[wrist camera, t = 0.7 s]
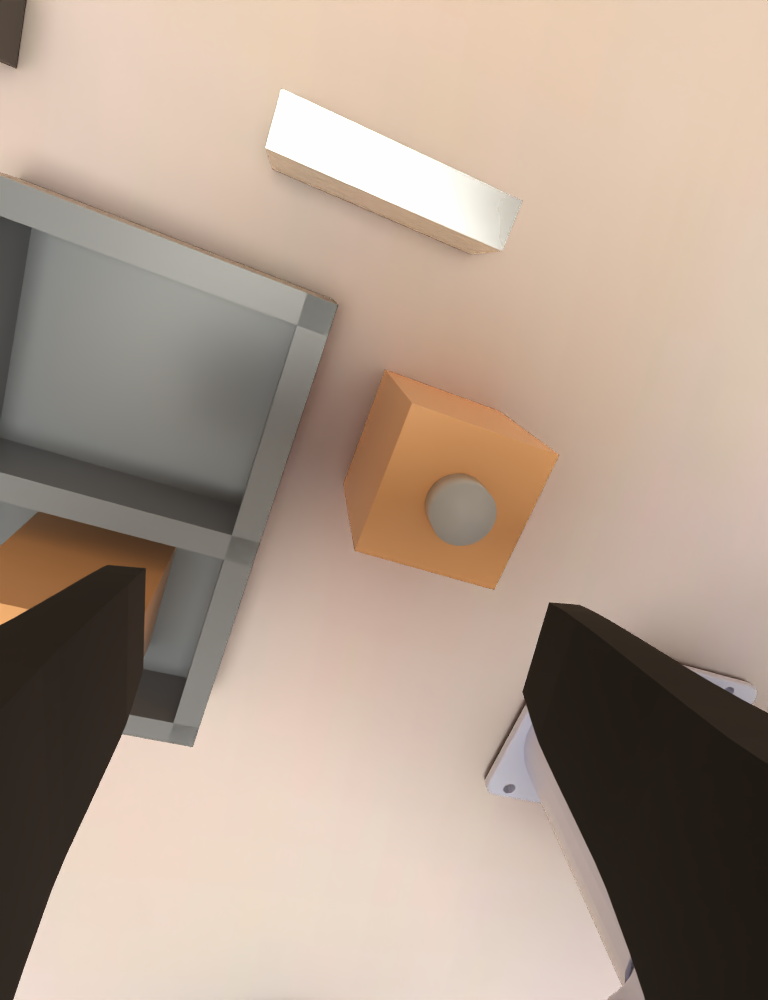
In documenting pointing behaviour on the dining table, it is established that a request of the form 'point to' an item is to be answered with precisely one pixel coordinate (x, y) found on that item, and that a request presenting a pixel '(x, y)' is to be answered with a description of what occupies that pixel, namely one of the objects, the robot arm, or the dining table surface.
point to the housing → (150, 413)
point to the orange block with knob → (74, 563)
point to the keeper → (10, 30)
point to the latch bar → (387, 177)
